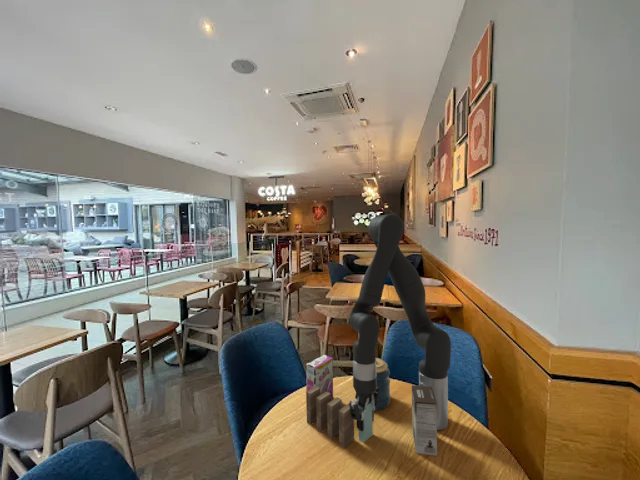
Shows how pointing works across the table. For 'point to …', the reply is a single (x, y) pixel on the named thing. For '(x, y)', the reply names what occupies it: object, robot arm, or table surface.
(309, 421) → the domino
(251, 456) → the table surface
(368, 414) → the domino
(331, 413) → the domino
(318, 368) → the candy bar box
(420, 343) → the robot arm
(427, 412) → the coffee box
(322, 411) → the domino
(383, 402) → the canister
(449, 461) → the table surface
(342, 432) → the domino
